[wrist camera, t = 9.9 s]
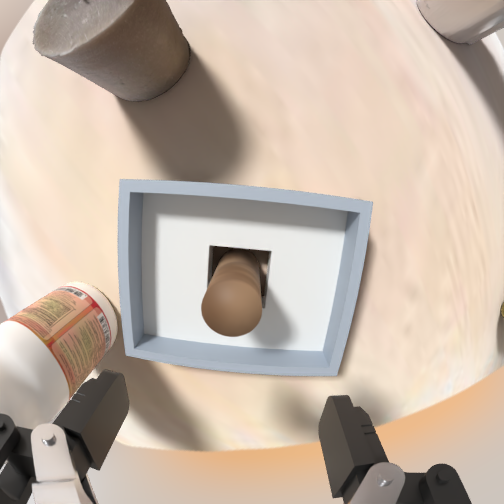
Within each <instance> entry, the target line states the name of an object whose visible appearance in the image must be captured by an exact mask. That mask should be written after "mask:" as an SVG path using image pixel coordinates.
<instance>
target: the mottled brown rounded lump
mask: <svg viewBox="0 0 504 504" xmlns="http://www.w3.org/2000/svg"><path fill="white" fill-rule="evenodd" d="M501 314H502V316H503V318H504V302H503V304H502V308H501Z"/></svg>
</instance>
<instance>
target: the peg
mask: <svg viewBox="0 0 504 504" xmlns="http://www.w3.org/2000/svg"><path fill="white" fill-rule="evenodd" d="M201 312H202V316H203V319H204V321H205V323H206V324H207V325H208V326H209V327H210V328H211V329H212V330H213V331H215V332H216V333H218V334H220V335H223V336H228V337H238V336H242V335H245V334H247V333H249V332H251V331H252V330H253V329H254V328H255V327H256V326H257V325H258V323H259V321H260V319H261V316H262V300H261V286H260V273H259V264H258V261H257V259H256V257H255V256H254V255H253V254H252V253H251V252H250V251H248V250H245V249H241V248H236V249H232V250H229V251H227V252H226V253H225V254H224V255H223V256H222V257H221V259H220V261H219V263H218V266H217V268H216V270H215V272H214V275H213V277H212V279H211V281H210V284H209V286H208V288H207V291H206V293H205V295H204V297H203V300H202V304H201Z"/></svg>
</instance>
